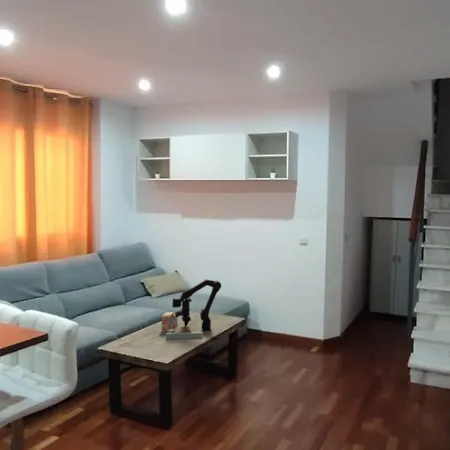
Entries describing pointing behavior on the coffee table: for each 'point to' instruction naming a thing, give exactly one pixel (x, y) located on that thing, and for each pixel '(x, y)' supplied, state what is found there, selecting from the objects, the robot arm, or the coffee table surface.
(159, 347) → the coffee table surface
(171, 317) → the stack of blocks
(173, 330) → the oak cube
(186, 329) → the walnut brick
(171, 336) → the board
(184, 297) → the robot arm
